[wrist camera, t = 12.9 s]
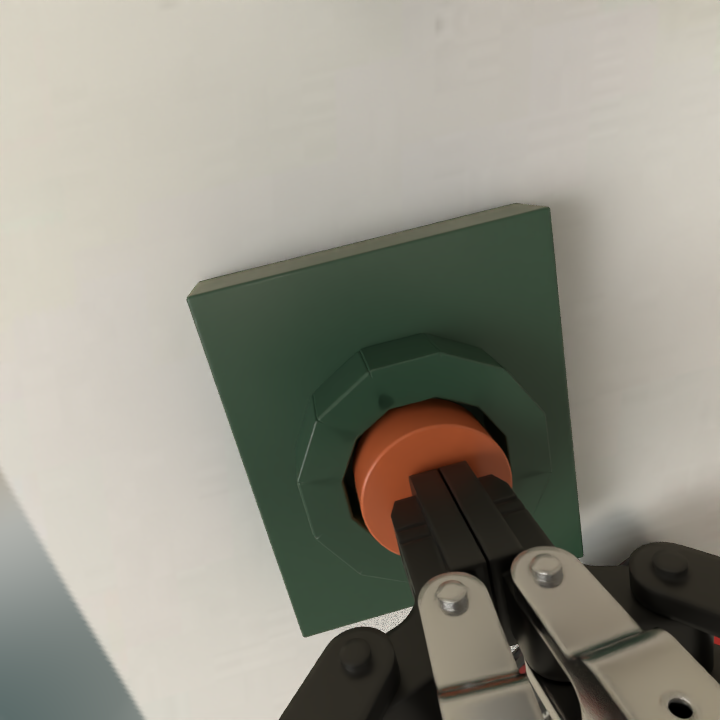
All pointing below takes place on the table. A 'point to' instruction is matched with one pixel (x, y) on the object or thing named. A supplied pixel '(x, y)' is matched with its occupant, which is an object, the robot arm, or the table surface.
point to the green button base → (389, 386)
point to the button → (417, 457)
